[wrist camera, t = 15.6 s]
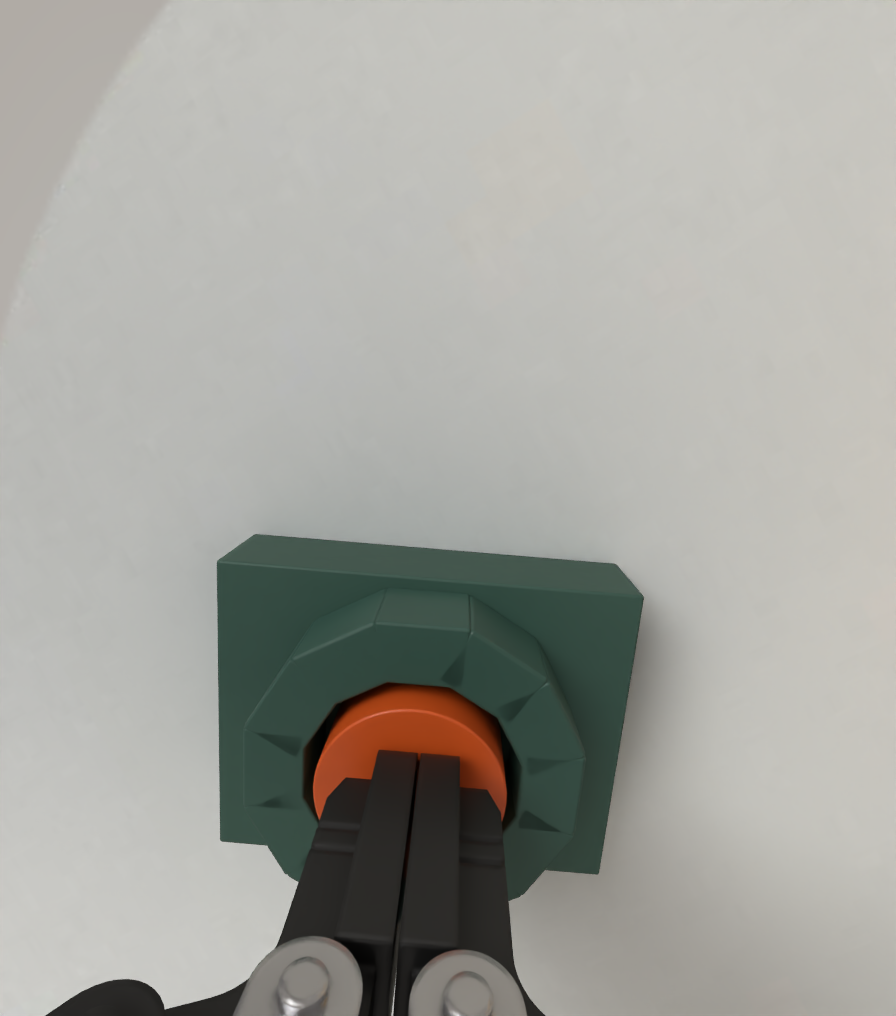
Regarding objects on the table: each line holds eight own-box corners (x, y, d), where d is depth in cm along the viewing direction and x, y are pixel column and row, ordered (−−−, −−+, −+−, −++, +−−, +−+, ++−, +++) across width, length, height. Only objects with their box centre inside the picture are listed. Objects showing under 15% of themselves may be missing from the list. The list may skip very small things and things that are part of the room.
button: (330, 803, 12) (310, 870, 11) (336, 654, 12) (314, 701, 10) (492, 817, 12) (497, 887, 11) (509, 669, 12) (516, 718, 10)
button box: (253, 778, 15) (181, 913, 11) (254, 533, 14) (172, 591, 10) (580, 806, 15) (620, 952, 11) (616, 563, 14) (677, 633, 10)
